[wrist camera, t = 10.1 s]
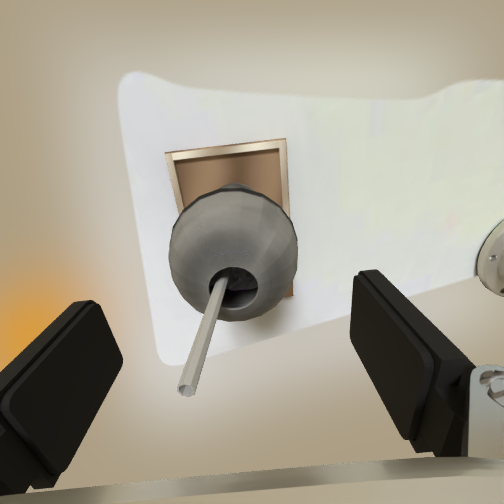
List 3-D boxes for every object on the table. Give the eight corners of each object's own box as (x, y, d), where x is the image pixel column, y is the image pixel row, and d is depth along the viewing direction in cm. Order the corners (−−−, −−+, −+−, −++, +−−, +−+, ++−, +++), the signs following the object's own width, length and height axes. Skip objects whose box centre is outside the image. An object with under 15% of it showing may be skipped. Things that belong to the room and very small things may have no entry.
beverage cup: (277, 233, 26) (370, 442, 8) (209, 246, 26) (144, 481, 8) (266, 160, 23) (371, 223, 5) (189, 175, 23) (18, 292, 5)
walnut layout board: (283, 138, 24) (286, 138, 22) (291, 290, 31) (293, 297, 29) (168, 151, 24) (163, 152, 22) (202, 300, 31) (200, 308, 29)
